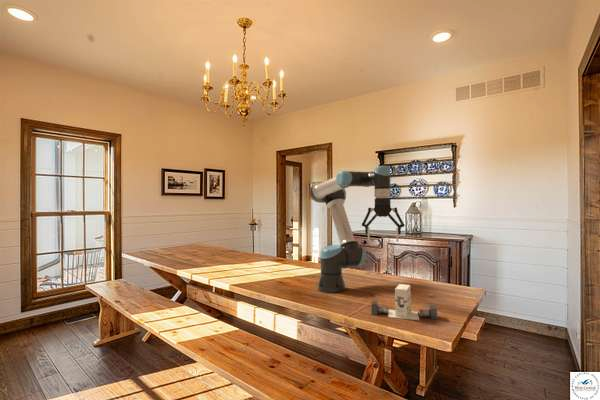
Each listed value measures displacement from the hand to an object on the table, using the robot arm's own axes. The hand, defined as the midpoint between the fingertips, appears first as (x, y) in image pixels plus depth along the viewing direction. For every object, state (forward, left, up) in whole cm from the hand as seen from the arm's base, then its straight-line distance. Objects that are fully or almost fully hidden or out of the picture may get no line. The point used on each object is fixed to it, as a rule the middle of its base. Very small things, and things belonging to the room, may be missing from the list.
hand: (382, 241), depth 155 cm
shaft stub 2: (+18, -19, -29) cm, 39 cm away
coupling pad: (+9, -19, -29) cm, 36 cm away
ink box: (+9, -19, -28) cm, 36 cm away
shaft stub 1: (-1, -19, -29) cm, 35 cm away
